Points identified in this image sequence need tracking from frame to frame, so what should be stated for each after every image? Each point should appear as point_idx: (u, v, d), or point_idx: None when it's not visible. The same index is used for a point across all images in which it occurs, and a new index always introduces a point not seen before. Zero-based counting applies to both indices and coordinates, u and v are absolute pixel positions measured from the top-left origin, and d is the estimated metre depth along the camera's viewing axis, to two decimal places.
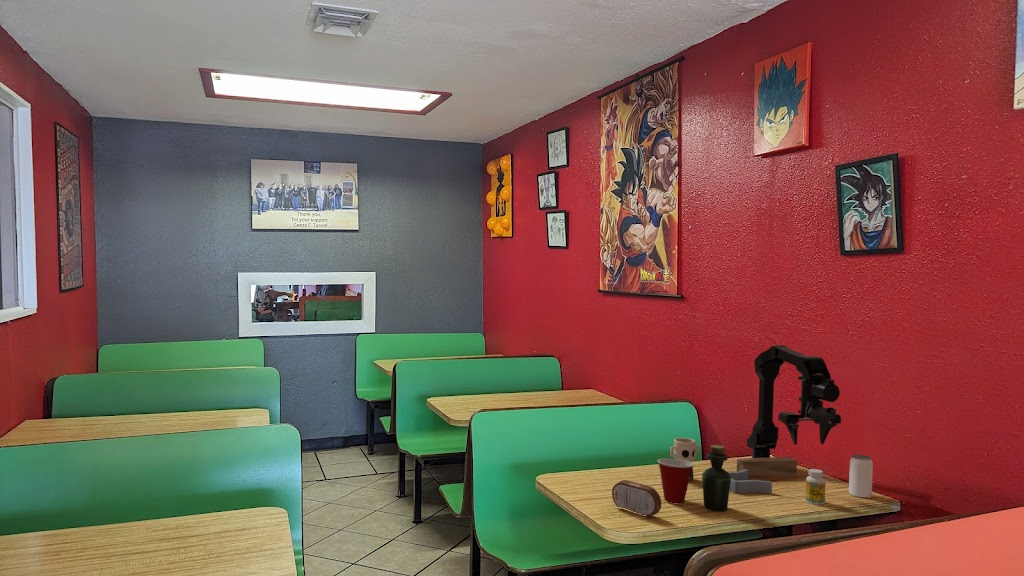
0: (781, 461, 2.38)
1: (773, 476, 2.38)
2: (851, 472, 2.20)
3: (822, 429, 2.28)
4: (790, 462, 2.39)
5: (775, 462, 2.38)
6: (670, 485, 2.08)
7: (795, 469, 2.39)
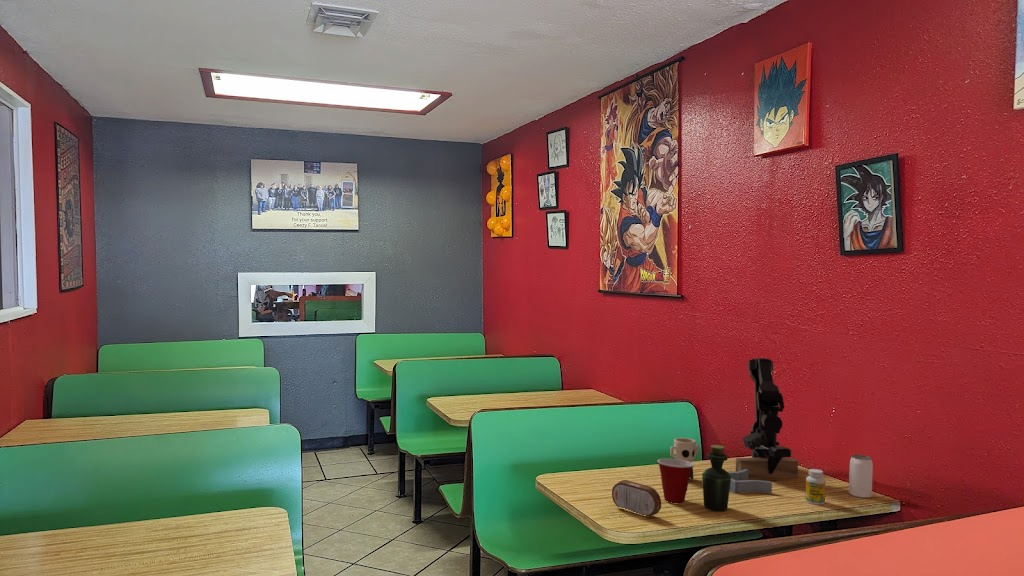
0: (781, 461, 2.38)
1: (773, 476, 2.38)
2: (851, 472, 2.20)
3: None
4: (791, 463, 2.38)
5: None
6: (670, 485, 2.08)
7: (796, 470, 2.38)
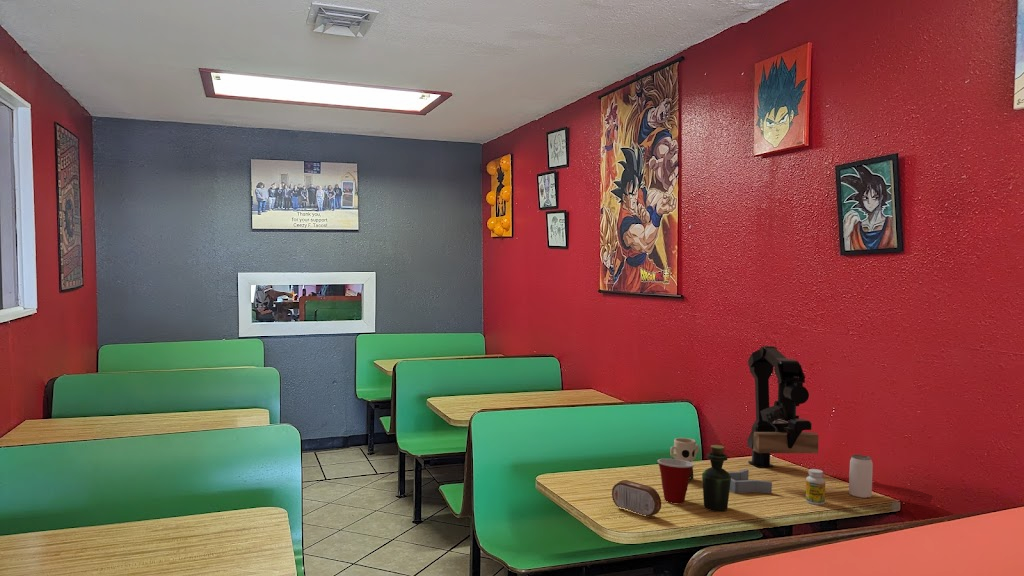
0: (801, 435, 2.29)
1: (792, 451, 2.29)
2: (851, 472, 2.20)
3: None
4: (811, 437, 2.29)
5: None
6: (670, 485, 2.08)
7: (816, 445, 2.29)
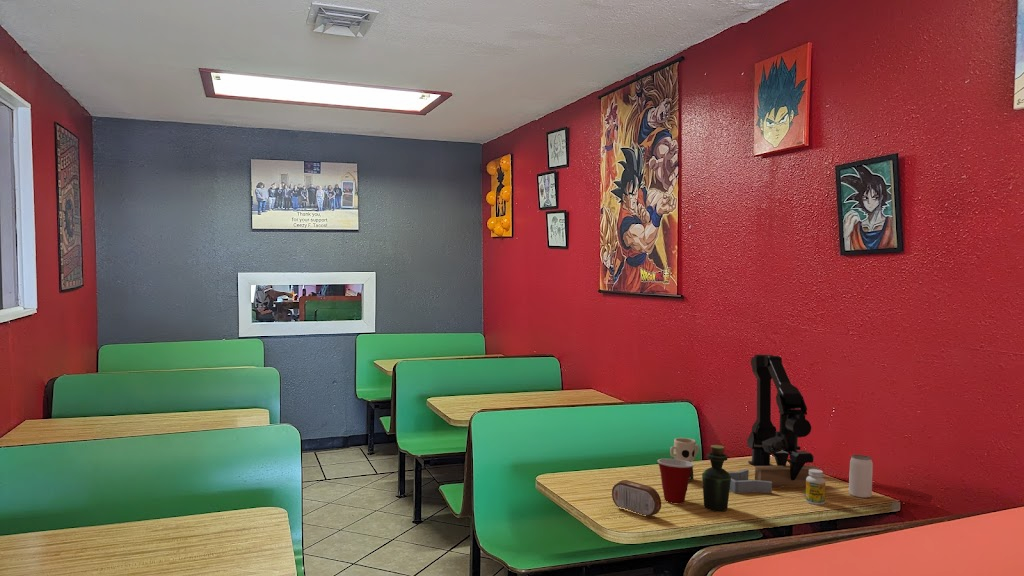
0: (802, 469, 2.28)
1: (793, 485, 2.28)
2: (851, 472, 2.20)
3: None
4: None
5: None
6: (670, 485, 2.08)
7: None
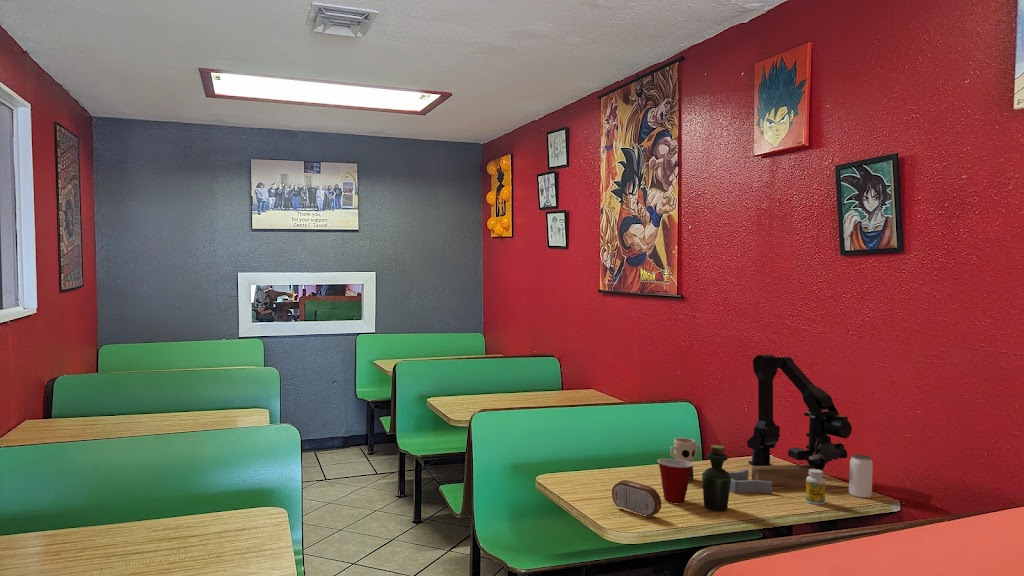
0: (798, 469, 2.28)
1: (790, 485, 2.28)
2: (851, 472, 2.20)
3: None
4: (808, 470, 2.29)
5: (792, 470, 2.28)
6: (670, 485, 2.08)
7: None
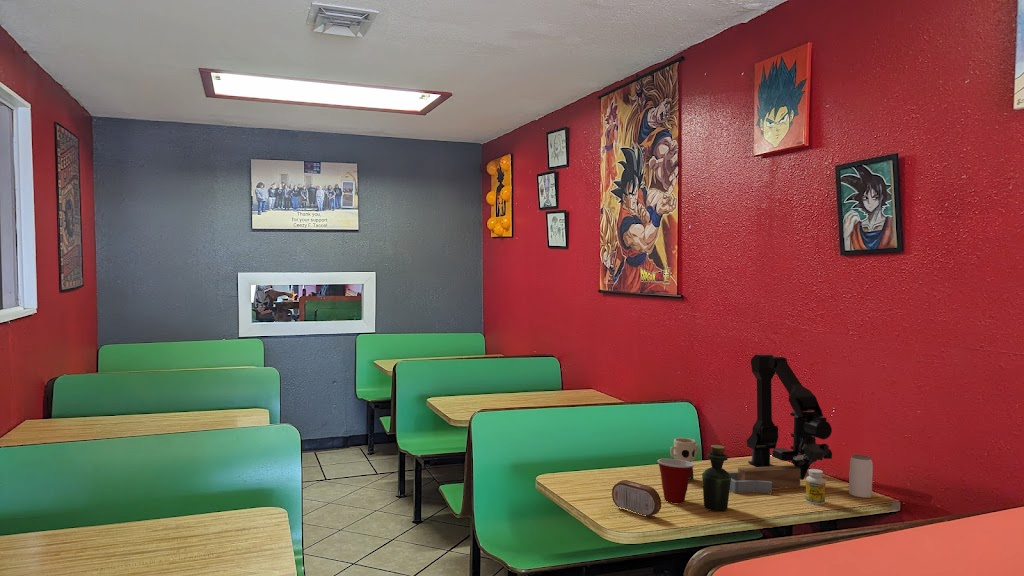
0: (784, 470, 2.26)
1: (776, 486, 2.26)
2: (851, 472, 2.20)
3: None
4: (794, 471, 2.27)
5: (778, 471, 2.26)
6: (670, 485, 2.08)
7: (798, 479, 2.28)
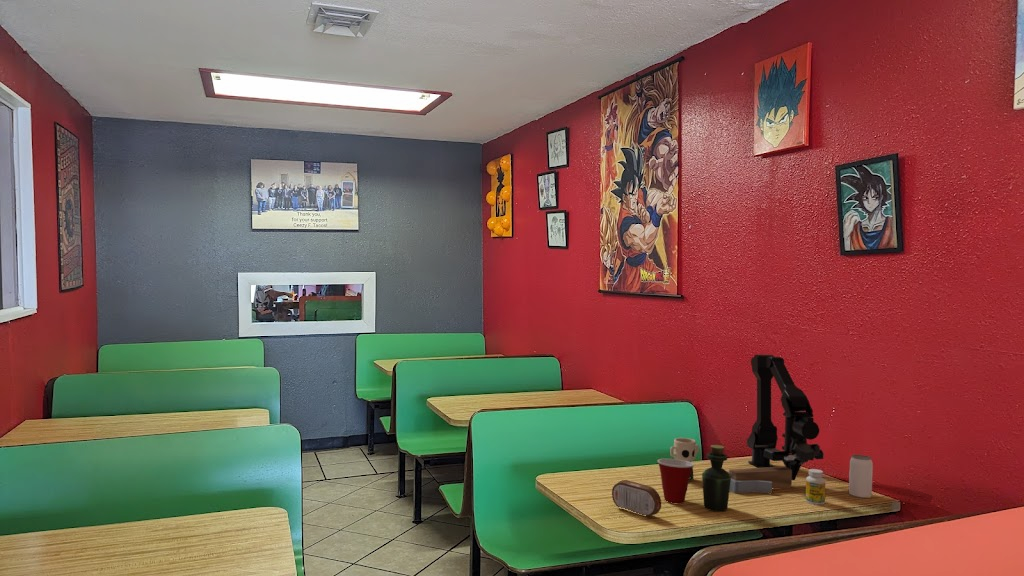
0: (775, 471, 2.26)
1: None
2: (851, 472, 2.20)
3: None
4: (785, 472, 2.26)
5: (769, 472, 2.25)
6: (670, 485, 2.08)
7: (790, 480, 2.27)
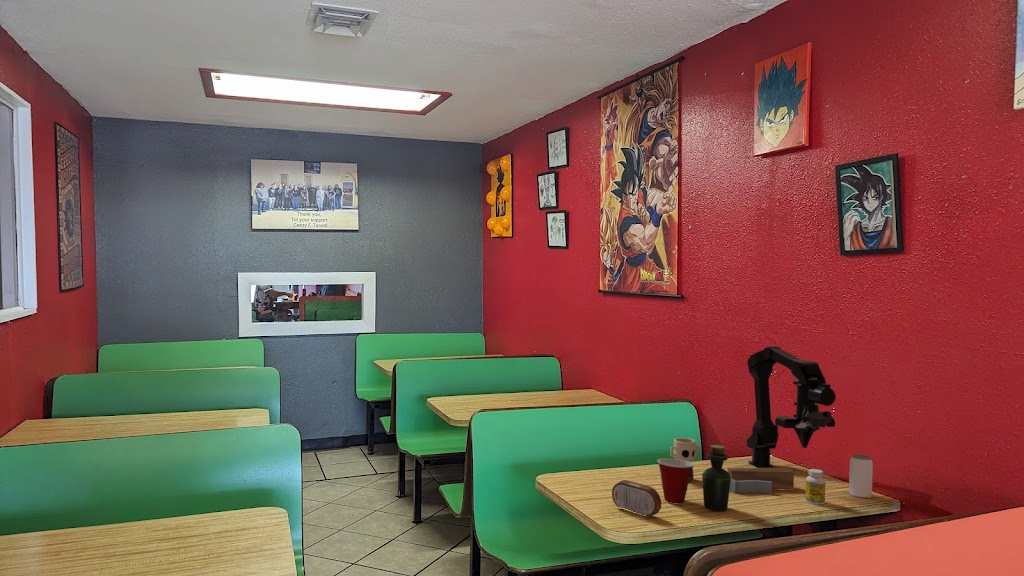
0: (775, 472, 2.25)
1: None
2: (851, 472, 2.20)
3: None
4: (786, 474, 2.25)
5: (768, 473, 2.25)
6: (670, 485, 2.08)
7: (792, 482, 2.25)
